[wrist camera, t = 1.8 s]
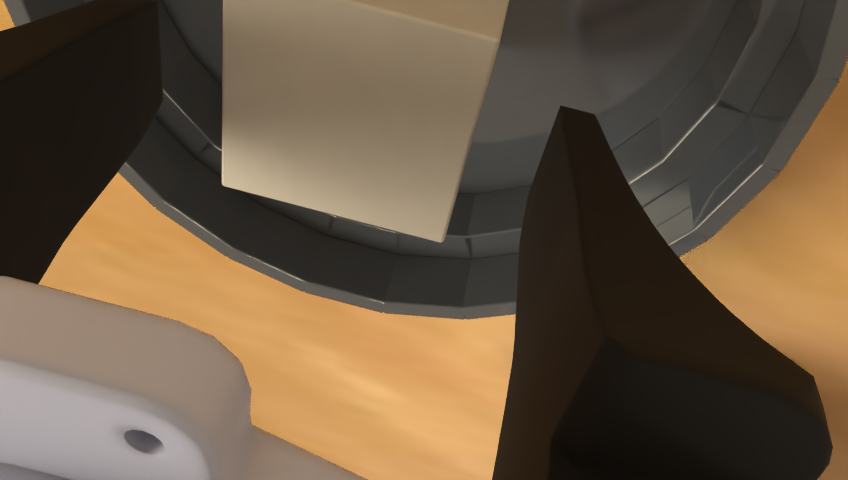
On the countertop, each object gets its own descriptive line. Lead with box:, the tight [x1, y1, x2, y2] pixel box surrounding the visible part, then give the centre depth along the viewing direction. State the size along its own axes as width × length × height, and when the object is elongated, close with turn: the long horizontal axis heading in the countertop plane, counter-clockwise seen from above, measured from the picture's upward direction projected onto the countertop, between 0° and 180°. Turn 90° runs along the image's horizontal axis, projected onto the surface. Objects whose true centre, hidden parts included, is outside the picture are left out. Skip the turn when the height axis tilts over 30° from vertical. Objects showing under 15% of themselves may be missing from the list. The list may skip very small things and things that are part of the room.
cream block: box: [222, 0, 509, 242], centre depth 16 cm, size 4×4×8 cm
